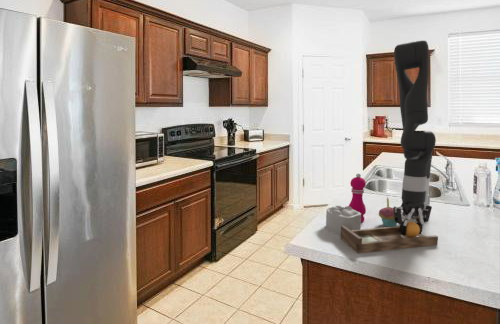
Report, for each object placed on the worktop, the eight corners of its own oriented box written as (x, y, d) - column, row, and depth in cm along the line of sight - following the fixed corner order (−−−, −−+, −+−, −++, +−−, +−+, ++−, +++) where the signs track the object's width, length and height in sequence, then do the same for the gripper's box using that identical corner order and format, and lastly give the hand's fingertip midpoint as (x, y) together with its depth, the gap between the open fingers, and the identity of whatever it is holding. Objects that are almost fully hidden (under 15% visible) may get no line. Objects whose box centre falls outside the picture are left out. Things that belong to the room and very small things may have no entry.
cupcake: (390, 230, 127) (392, 200, 125) (373, 223, 134) (374, 194, 132) (405, 226, 131) (407, 197, 129) (387, 220, 138) (389, 192, 136)
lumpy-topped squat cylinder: (346, 237, 120) (347, 214, 119) (319, 227, 130) (320, 206, 129) (363, 231, 126) (364, 209, 125) (336, 222, 137) (336, 201, 135)
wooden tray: (413, 232, 125) (414, 219, 124) (437, 244, 113) (438, 230, 112) (340, 239, 119) (340, 225, 118) (358, 253, 107) (358, 238, 106)
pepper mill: (366, 223, 134) (369, 175, 131) (348, 222, 136) (350, 175, 132) (364, 218, 141) (366, 172, 138) (346, 217, 143) (348, 171, 139)
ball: (411, 233, 121) (413, 218, 120) (422, 239, 116) (424, 223, 115) (398, 234, 120) (399, 219, 119) (408, 240, 114) (410, 225, 113)
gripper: (424, 184, 120) (420, 228, 123) (389, 186, 117) (386, 232, 120) (440, 189, 113) (435, 236, 115) (403, 191, 110) (399, 240, 112)
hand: (410, 234), depth 117 cm, fingers closed on ball, 5 cm apart
